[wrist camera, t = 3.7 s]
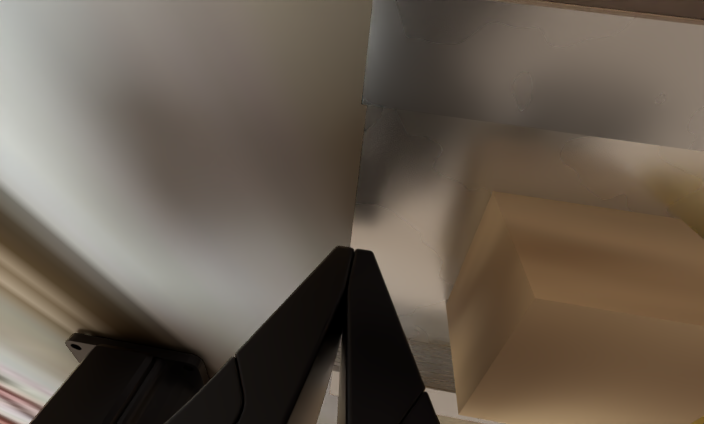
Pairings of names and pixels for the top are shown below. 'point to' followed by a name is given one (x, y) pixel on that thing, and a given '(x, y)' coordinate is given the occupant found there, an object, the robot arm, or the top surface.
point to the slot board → (514, 136)
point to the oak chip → (578, 316)
